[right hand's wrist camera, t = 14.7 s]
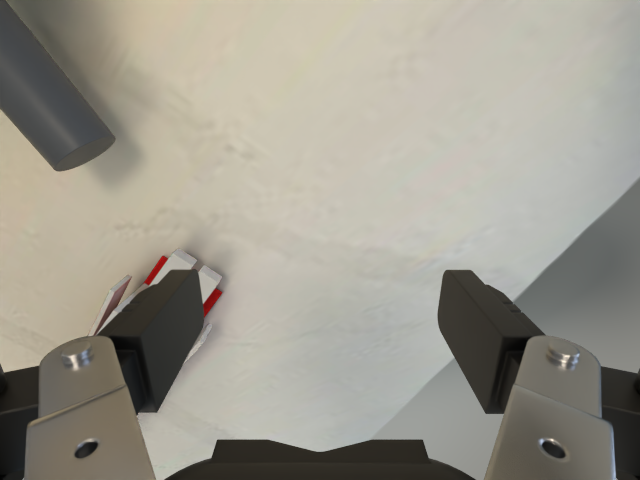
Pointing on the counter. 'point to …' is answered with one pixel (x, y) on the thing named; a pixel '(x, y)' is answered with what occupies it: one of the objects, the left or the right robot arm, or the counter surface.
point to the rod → (45, 99)
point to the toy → (163, 266)
